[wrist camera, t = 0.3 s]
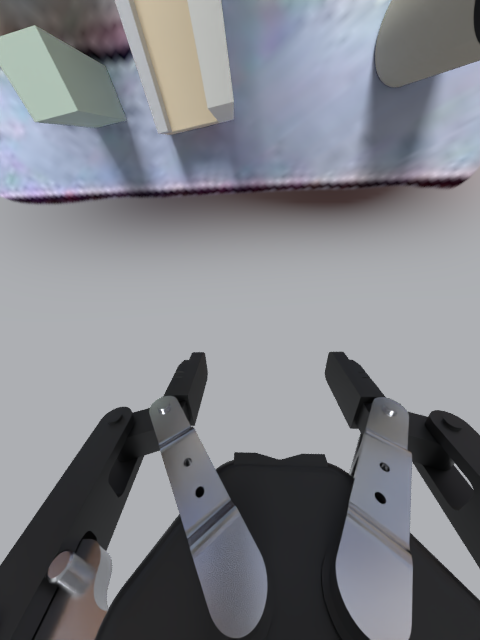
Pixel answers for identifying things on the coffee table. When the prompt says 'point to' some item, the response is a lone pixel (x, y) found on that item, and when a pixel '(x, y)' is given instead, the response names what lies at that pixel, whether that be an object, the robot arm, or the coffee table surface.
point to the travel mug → (426, 39)
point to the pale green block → (58, 80)
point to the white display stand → (180, 61)
